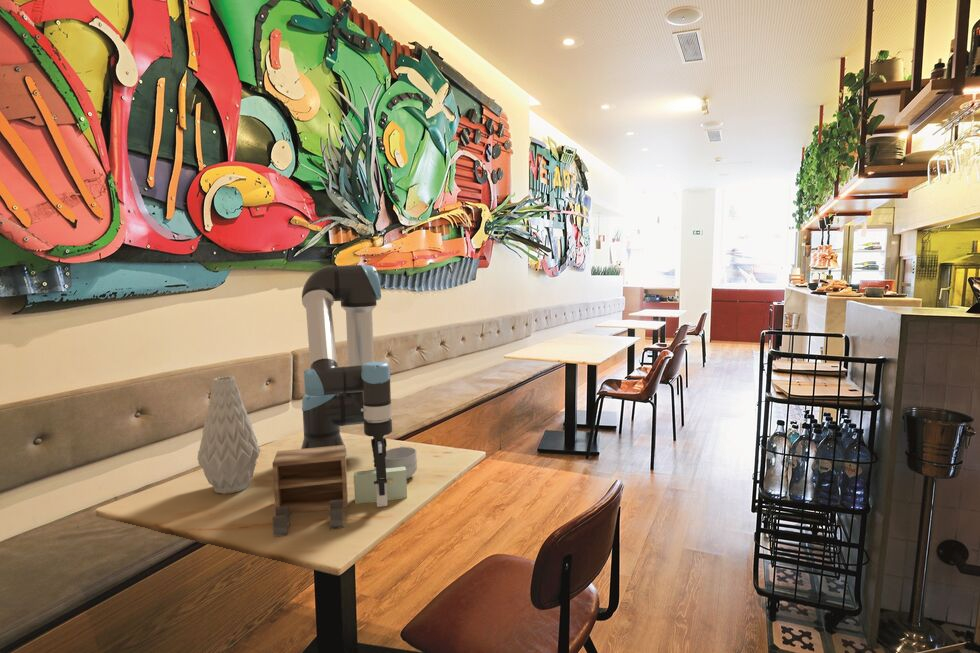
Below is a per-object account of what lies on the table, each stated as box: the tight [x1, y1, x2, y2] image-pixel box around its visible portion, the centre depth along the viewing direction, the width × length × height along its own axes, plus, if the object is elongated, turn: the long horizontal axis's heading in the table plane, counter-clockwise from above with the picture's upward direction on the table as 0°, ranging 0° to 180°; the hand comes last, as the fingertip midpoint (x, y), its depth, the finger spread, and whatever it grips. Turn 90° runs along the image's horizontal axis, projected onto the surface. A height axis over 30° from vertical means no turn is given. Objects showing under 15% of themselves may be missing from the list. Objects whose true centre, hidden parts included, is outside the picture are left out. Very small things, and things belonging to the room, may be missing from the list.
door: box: [353, 467, 408, 505], centre depth 152 cm, size 4×14×8 cm, turn 104°
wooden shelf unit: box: [272, 444, 348, 537], centre depth 144 cm, size 22×18×14 cm
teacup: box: [385, 445, 418, 480], centre depth 170 cm, size 14×11×8 cm
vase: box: [197, 376, 261, 495], centre depth 161 cm, size 17×17×33 cm
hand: (381, 497), depth 153 cm, fingers open, 10 cm apart
